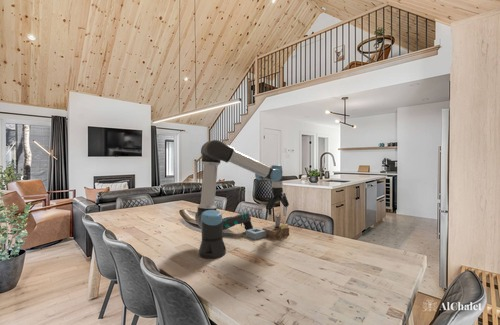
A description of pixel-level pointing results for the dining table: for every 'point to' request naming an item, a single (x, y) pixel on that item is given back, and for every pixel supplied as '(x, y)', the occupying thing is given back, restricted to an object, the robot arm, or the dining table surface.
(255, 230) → the grey square holed block
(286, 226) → the tan rectangular bar
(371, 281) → the dining table surface
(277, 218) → the steel round bar
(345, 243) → the dining table surface
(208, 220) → the robot arm
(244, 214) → the gun
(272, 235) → the socket block
